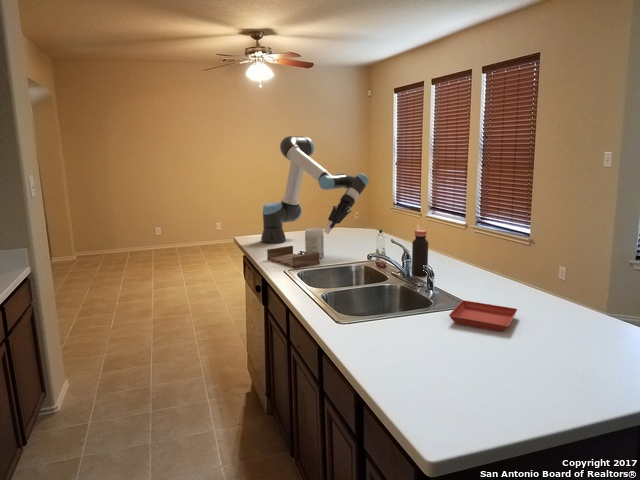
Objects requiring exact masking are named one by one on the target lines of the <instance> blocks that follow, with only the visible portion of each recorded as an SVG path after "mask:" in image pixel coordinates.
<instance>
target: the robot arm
mask: <svg viewBox="0 0 640 480" xmlns="http://www.w3.org/2000/svg"><path fill="white" fill-rule="evenodd" d="M279 148H280V149H279V150H280V152H281V154H282V155H283V156H284V158H286V159H287V160H288V161H290V165H289V169H288V176H287V182H286V187H285V192H284V197H282V198H281V201H279V202H276V201H275V202H268V203H266V204H264V205H263V207H262V220H263V222H262V225H263V229H262V233H261V237H260V241H261V243H263V244H279V243H284V242H286V241H287V240H286V239H287V237H286V235H285V232H284V229H283V224H285V223H291V222H294V221H298V220H299V219H300V218H301V216H302V213H303V209H302V206H301V204H300V201H299V196H300V192H301V191H300V190H301V185H302V181H303V180H302V179H303V175H304V171H305V172H306V173H307V174H308V175H310V176H311V177H312V178H313V179H314V180H316V181H317V183H318V185H319V187H320V188H321V189H322V190H324V191H325V190H327V191H328V190H330V191H331V190H338V189H346V190H345V192H344V193H343V195H342V196H341V198H340V199H339V200H340V202H339V203H338V204H337V205H333V207H332V210H331V212H330V214H329V216H328V218H327V220H328V223H327V225H326V227H325V228H324V229H323V232H324V233H325V234H328V235H329V234H330V232H331V231H332V229H333V228H335V226H336V225H337V224H341V222H342V221H343V220H345V218H346V217H347V216H348V215H349V214H350V213H351V212H352V209H351V208H353V206H354V204H355V202H356V201H357V200H359V197H360V196H361V195H362V192H364V191H365V188H366V187H367V185H368V184H369V182H370V179H369V177H368V176H367V174H365V173H362V172H360V173H357V175H356V176H355V175H354V176H353V175H349V174H347V173H341V172H337V173H336V174H332V173H331V172H329V171H328V170H326V169H325V168H323V167H322V166H321V165H320V163H319V164H318V162H316V161H315V160H313V159H312V158H311V156H312V155H313V153H314V150H315V145H314V143H313V140H312V139H311V138H310V137H308V136H301V135H299V136H298V135H297V136H295V135H293V136H291V135H289V136H286V137H284V138H283V139H282V140H281V142H280V144H279Z"/></svg>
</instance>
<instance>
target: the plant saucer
mask: <svg viewBox="0 0 640 480" xmlns="http://www.w3.org/2000/svg"><path fill="white" fill-rule="evenodd" d="M517 311H518V308H515V307H508V306H503V305H502V306H501V305H497V304H496V305H495V304H490V303H483V302H477V301H470V300H461V302H459V304H458V305H456V306H455V308H454V309H453V310H452V311H451V312H450V313H449V314H448V316H449V318H450V319H451V320H452V321H453V323H455V324H456V325H463V326H468V327H473V328H479V329H485V330H491V331H495V332H504V331H505V330H506V329H508V328H509V326H510V325H511V323H512V321H513V319H514V317H515V315H516V313H517Z"/></svg>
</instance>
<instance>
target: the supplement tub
mask: <svg viewBox="0 0 640 480" xmlns="http://www.w3.org/2000/svg"><path fill="white" fill-rule="evenodd" d="M304 239H305V240H304V241H305V244H304V245H305V248H304V249H305V255H306V254H311V253H317V252H318V253H319V257H320V259H322V258H324V256H325V247H324V245H325V244H324V239H325V238H324V229H323V228H319V227H318V228H317V227H313V228H307V229H305V231H304Z"/></svg>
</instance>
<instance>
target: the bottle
mask: <svg viewBox="0 0 640 480" xmlns="http://www.w3.org/2000/svg"><path fill="white" fill-rule="evenodd" d="M414 237H415V238H414V239H413V241H412V244H411V249H412V251H411V275H412V276H414V277H417V278H423V277H424V278H425V277H427V276H428V272H427V273H426V272H425V271H423V265H428V263H429V241H428V240H427V239H426V238H427V230H425V229H415V230H414Z"/></svg>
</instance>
